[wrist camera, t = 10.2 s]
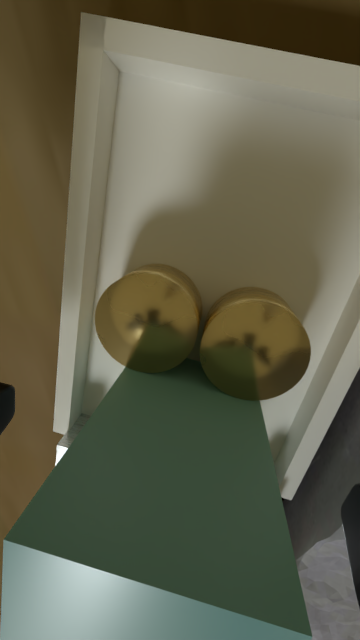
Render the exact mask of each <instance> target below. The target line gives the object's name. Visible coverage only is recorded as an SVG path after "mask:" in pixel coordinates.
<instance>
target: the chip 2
mask: <svg viewBox="0 0 360 640" xmlns="http://www.w3.org/2000/svg"><path fill="white" fill-rule="evenodd" d="M310 357H311V346H310V340H309V337H308V334H307V332H306V330H305V328H304V327H303V326H302V324H301V323H300V321H299V320H298V318H297V317H296V315H295V314H294V312H293V311H292V309H291V308H290V306H289V305H288V304H287V302H286V301H285V300H284V299H283V298H281V297H280V296H279V295H277V294H276V293H274V292H272V291H269V290H267V289H263V288H258V287H243V288H239V289H235V290H232V291H230V292H228V293H226V294H224V295H223V296H222V297H220V298H219V299H218V300H217V301H216V302H215V303H214V304H213V305H212V307H211V308H210V310H209V312H208V314H207V316H206V320H205V324H204V329H203V334H202V339H201V345H200V360H201V364H202V368H203V370H204V372H205V374H206V376H207V377H208V379H209V380H210V381H211V382H212V383H213V384H214V385H215V386H216V387H217V388H218V389H220V390H221V391H222V392H224V393H226V394H228V395H230V396H232V397H235V398H239V399H243V400H251V401H258V400H267V399H271V398H274V397H277V396H280V395H282V394H284V393H286V392H287V391H289V390H290V389H292V388H293V387H294V386H295V385H296V384H297V383H298V382H299V381H300V380H301V379H302V377H303V376H304V374H305V372H306V370H307V368H308V365H309V362H310Z"/></svg>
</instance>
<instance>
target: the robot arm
mask: <svg viewBox="0 0 360 640" xmlns="http://www.w3.org/2000/svg"><path fill="white" fill-rule="evenodd" d="M14 412H15V389H14V387H13V386H12V385H8V384H5V383H1V382H0V435H1V433H2V432H3V431H4V429H5V428H6V426H7V425H8V424H9V422H10V421H11V419H12V418H13V415H14ZM341 519H342V525H343V530H344V536H345V542H346V547H347V553H348V558H349V564H350V569H351V575H352V580H353V584H354V589H355V593H356V597H357V601H358V605H359V609H360V483H357V484H355V485H354V486H353V487H352V489H351V490H350V492H349V494H348V495H347V497H346V498H345V500H344V502H343V503H342V506H341Z"/></svg>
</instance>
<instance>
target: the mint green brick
mask: <svg viewBox="0 0 360 640" xmlns="http://www.w3.org/2000/svg"><path fill="white" fill-rule="evenodd" d="M311 639H312V632H311V628H310V623H309V619H308V614H307V610H306V605H305V601H304V596H303V592H302V587H301V583H300V578H299V574H298V569H297V565H296V560H295V556H294V552H293V547H292V543H291V538H290V534H289V529H288V525H287V520H286V516H285V511H284V507H283V502H282V498H281V493H280V489H279V484H278V480H277V475H276V471H275V467H274V462H273V458H272V453H271V449H270V444H269V440H268V435H267V431H266V426H265V422H264V417H263V413H262V408H261V404H260V400H258V401H251V400H243V399H239V398H235V397H232V396H230V395H228V394H226V393H224V392H222V391H221V390H220V389H218V388H217V387H216V386H215V385H214V384H213V383H212V382H211V381H210V380H209V379H208V377H207V376H206V374H205V372H204V370H203V368H202V364H201V362H200V361H196V360H192V359H189V358H186V359H185V360H184V361H183V362H182V363H180V364H179V365H177V366H176V367H174V368H172V369H170V370H167V371H163V372H158V373H144V372H139V371H135V370H132V369H129V368H127V367H125V368H124V370H123V371H122V373H121V374H120V375H119V377H118V378H117V380H116V381H115V382H114V384H113V385H112V387H111V388H110V390H109V391H108V392H107V394H106V395H105V397H104V398H103V400H102V401H101V402H100V404H99V405H98V407H97V408H96V409H95V411H94V412H93V414H92V415H91V417H90V418H89V419H88V421H87V422H86V424H85V425H84V426H83V428H82V429H81V431H80V432H79V434H78V435H77V436H76V438H75V439H74V441H73V442H72V443H71V445H70V446H69V448H68V449H67V451H66V452H65V453H64V455H63V456H62V458H61V459H60V461H59V462H58V463H57V465H56V466H55V468H54V469H53V470H52V472H51V473H50V475H49V476H48V478H47V479H46V480H45V482H44V483H43V485H42V486H41V487H40V489H39V490H38V492H37V493H36V495H35V496H34V497H33V499H32V500H31V502H30V503H29V505H28V506H27V507H26V509H25V510H24V512H23V513H22V514H21V516H20V517H19V519H18V520H17V522H16V523H15V524H14V526H13V527H12V529H11V530H10V531H9V533H8V534H7V536H6V537H5V539H4V546H3V574H2V603H1V631H0V640H311Z"/></svg>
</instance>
